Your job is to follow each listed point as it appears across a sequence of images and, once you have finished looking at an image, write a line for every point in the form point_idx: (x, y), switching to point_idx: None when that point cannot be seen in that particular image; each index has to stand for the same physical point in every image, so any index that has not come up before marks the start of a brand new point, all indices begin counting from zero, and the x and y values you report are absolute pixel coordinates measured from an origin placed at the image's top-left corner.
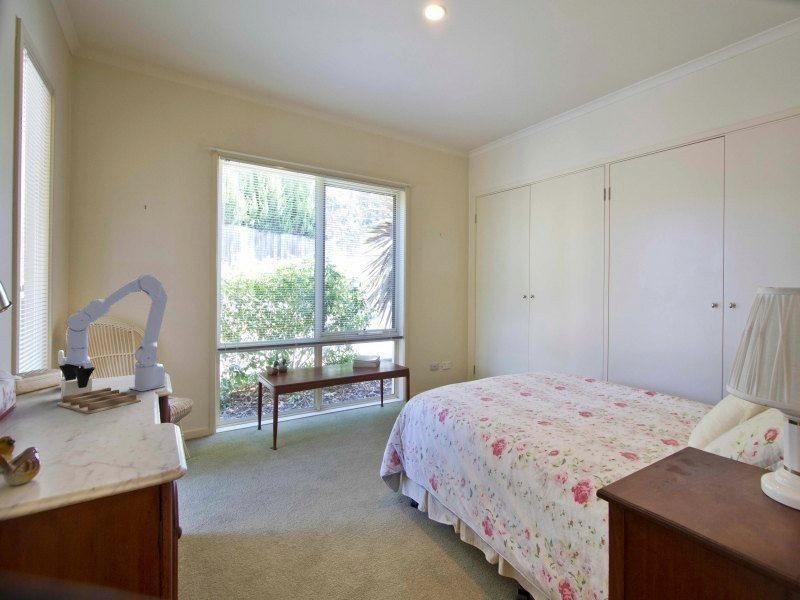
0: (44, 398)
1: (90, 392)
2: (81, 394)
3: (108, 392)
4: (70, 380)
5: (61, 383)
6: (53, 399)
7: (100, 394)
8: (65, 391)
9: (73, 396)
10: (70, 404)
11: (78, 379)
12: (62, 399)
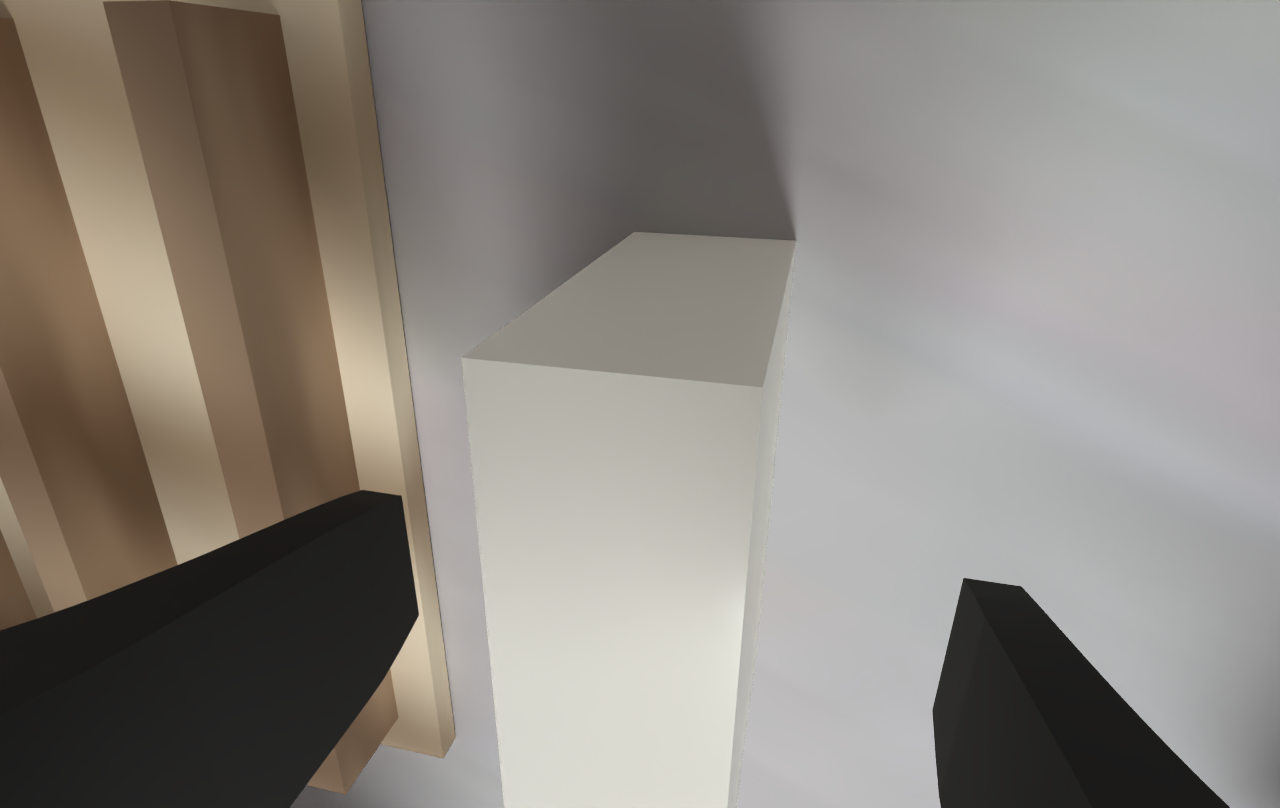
0: (1213, 39)
1: (240, 506)
2: (207, 358)
3: (59, 603)
4: (696, 630)
5: (751, 357)
6: (882, 118)
7: (26, 494)
8: (578, 283)
9: (184, 209)
10: (52, 37)
11: (109, 602)
12: (231, 10)
